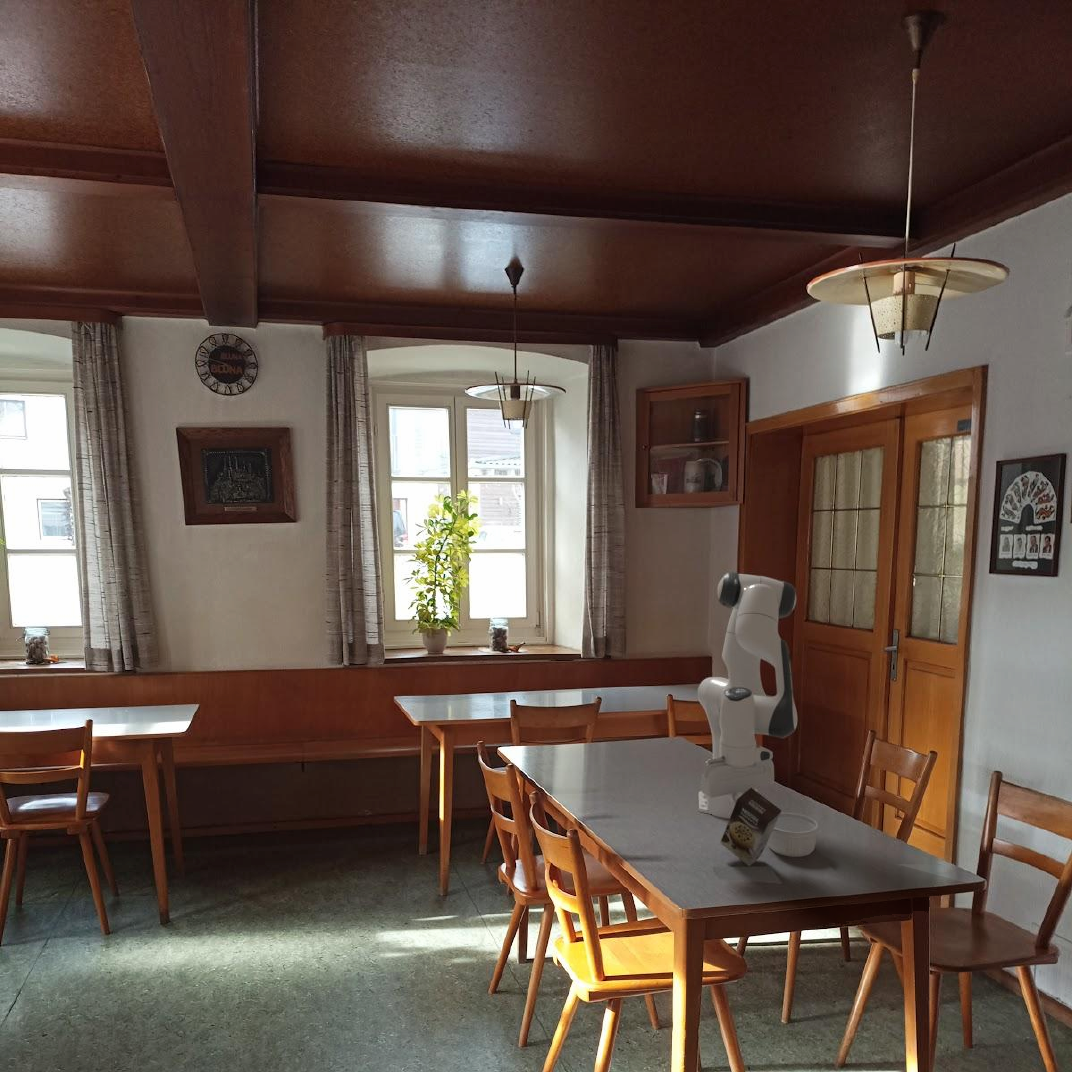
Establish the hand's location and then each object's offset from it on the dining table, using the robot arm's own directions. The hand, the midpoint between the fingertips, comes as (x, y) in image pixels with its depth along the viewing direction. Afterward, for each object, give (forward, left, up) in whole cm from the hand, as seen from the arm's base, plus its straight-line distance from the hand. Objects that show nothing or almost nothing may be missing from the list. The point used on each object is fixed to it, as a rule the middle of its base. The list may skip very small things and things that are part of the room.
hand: (737, 808), depth 214 cm
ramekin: (-4, +15, -12) cm, 20 cm away
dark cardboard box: (+2, 0, -10) cm, 10 cm away
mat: (+13, -1, -12) cm, 17 cm away
